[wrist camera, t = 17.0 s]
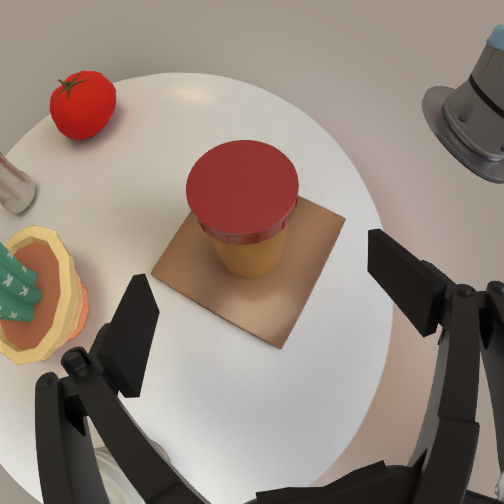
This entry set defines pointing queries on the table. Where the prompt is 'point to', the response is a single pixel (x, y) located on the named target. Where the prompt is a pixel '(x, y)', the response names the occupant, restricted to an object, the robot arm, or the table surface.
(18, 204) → the silver metal bottle
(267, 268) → the jar
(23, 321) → the potted cactus
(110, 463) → the coffee cup
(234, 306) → the plate
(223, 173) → the jam lid
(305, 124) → the table surface
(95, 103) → the tomato
